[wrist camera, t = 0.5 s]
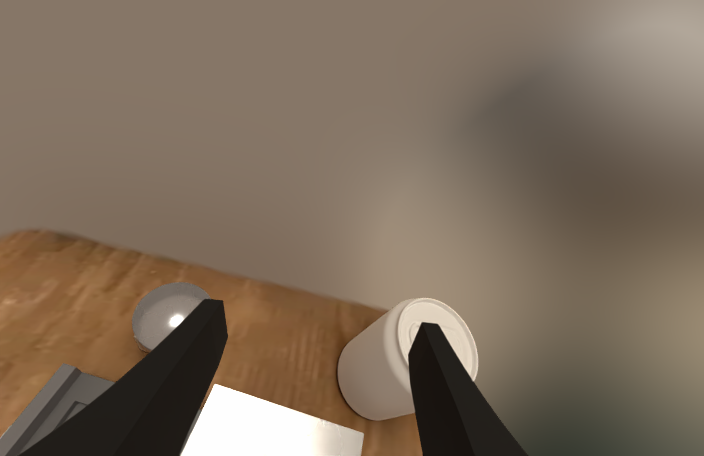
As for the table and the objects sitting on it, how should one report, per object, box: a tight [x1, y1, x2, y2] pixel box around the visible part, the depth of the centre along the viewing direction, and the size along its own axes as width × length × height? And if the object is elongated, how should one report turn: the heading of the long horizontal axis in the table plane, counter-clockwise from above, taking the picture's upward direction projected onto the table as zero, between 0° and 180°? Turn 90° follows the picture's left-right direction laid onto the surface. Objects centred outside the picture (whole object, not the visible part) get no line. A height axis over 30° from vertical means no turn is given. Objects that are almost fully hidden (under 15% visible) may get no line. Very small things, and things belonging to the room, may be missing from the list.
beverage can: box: [338, 298, 478, 420], centre depth 27 cm, size 8×8×12 cm
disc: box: [132, 282, 211, 353], centre depth 24 cm, size 5×5×2 cm
